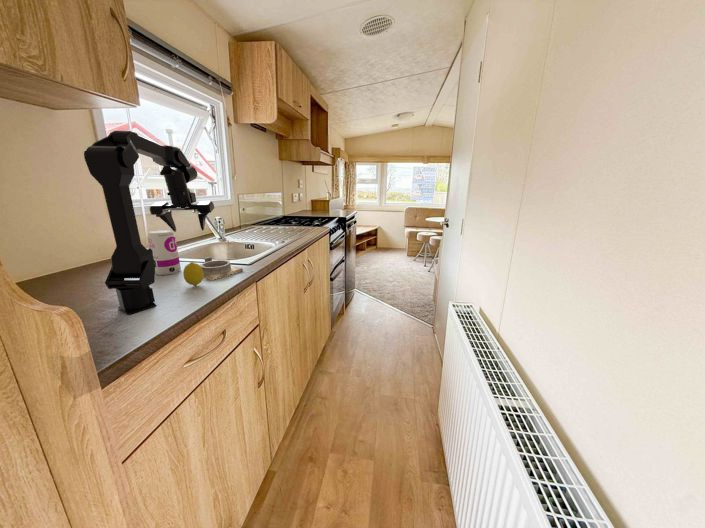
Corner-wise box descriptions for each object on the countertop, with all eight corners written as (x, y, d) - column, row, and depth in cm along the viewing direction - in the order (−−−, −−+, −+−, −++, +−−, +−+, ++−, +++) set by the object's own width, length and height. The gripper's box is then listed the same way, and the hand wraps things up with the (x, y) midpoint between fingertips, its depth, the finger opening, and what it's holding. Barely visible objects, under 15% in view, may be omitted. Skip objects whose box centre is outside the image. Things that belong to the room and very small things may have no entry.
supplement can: (186, 269, 105) (179, 230, 100) (168, 276, 97) (160, 234, 93) (167, 268, 106) (160, 229, 102) (148, 274, 98) (140, 233, 94)
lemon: (199, 289, 86) (195, 264, 83) (181, 289, 86) (177, 264, 84) (208, 283, 91) (205, 259, 89) (192, 282, 91) (188, 259, 89)
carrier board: (212, 280, 94) (210, 268, 92) (188, 272, 101) (186, 261, 100) (243, 271, 103) (241, 260, 102) (219, 264, 111) (217, 254, 110)
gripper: (213, 181, 101) (221, 222, 108) (156, 182, 98) (169, 223, 105) (204, 188, 91) (214, 232, 99) (141, 189, 88) (157, 235, 95)
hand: (189, 230), depth 100 cm, fingers open, 9 cm apart
